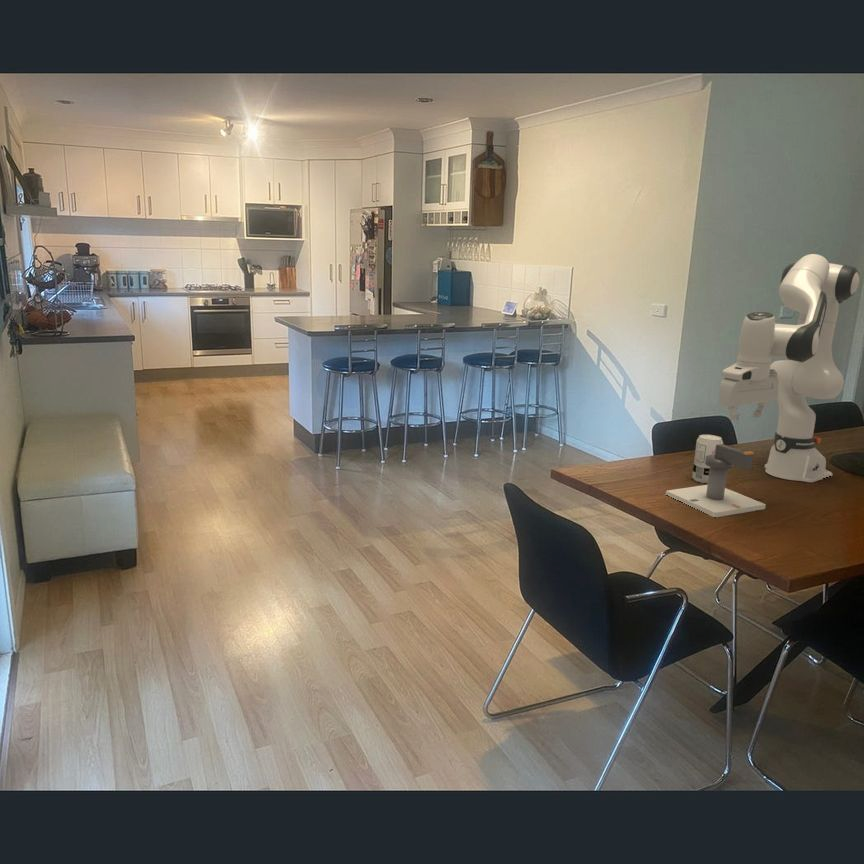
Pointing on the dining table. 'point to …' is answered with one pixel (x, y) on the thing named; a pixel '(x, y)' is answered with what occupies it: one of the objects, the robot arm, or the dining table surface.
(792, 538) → the dining table surface
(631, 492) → the dining table surface
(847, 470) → the dining table surface
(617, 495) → the dining table surface
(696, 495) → the base
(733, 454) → the twist knob
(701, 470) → the supplement can
